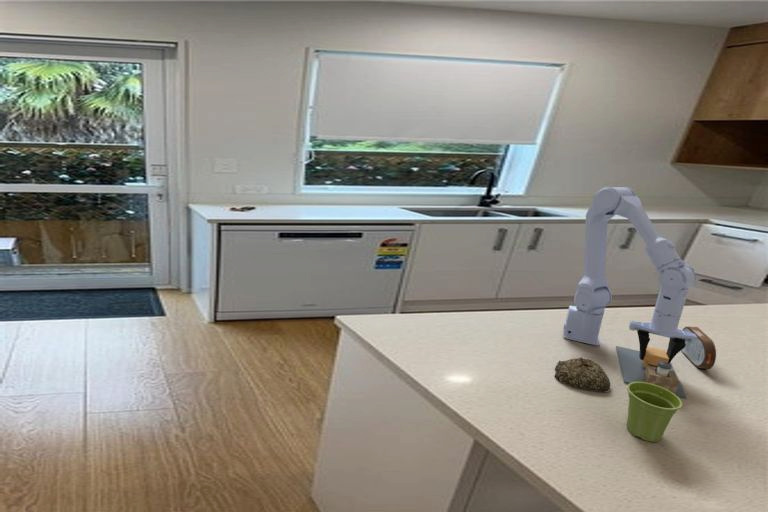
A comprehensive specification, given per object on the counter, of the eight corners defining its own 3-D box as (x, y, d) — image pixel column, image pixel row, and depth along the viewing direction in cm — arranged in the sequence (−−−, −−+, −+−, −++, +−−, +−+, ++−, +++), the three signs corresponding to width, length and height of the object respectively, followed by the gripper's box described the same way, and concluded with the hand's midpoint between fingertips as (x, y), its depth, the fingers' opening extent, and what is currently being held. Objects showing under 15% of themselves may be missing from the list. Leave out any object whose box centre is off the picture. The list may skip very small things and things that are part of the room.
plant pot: (607, 416, 94) (617, 380, 91) (649, 417, 95) (660, 381, 92) (635, 447, 85) (647, 408, 82) (681, 448, 86) (694, 409, 83)
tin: (712, 375, 116) (721, 346, 114) (698, 373, 117) (708, 343, 114) (686, 349, 130) (694, 322, 128) (674, 347, 131) (682, 320, 128)
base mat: (624, 383, 108) (624, 381, 108) (615, 347, 127) (616, 345, 127) (686, 398, 104) (686, 396, 103) (668, 359, 122) (668, 357, 122)
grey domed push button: (654, 380, 106) (659, 365, 105) (652, 375, 108) (657, 359, 107) (668, 384, 105) (672, 368, 104) (665, 378, 107) (670, 362, 106)
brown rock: (612, 398, 102) (617, 379, 100) (554, 385, 105) (559, 366, 103) (603, 371, 113) (607, 353, 112) (552, 360, 117) (555, 342, 115)
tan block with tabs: (642, 367, 114) (646, 353, 113) (639, 358, 119) (643, 345, 118) (664, 372, 113) (668, 358, 112) (661, 363, 117) (665, 350, 116)
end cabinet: (645, 387, 106) (649, 374, 105) (642, 377, 110) (646, 364, 109) (674, 394, 104) (679, 381, 103) (670, 384, 108) (674, 371, 107)
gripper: (637, 311, 110) (624, 360, 114) (705, 325, 106) (689, 375, 109) (633, 302, 117) (621, 348, 120) (698, 314, 112) (683, 363, 116)
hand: (653, 361), depth 115 cm, fingers closed on tan block with tabs, 5 cm apart
